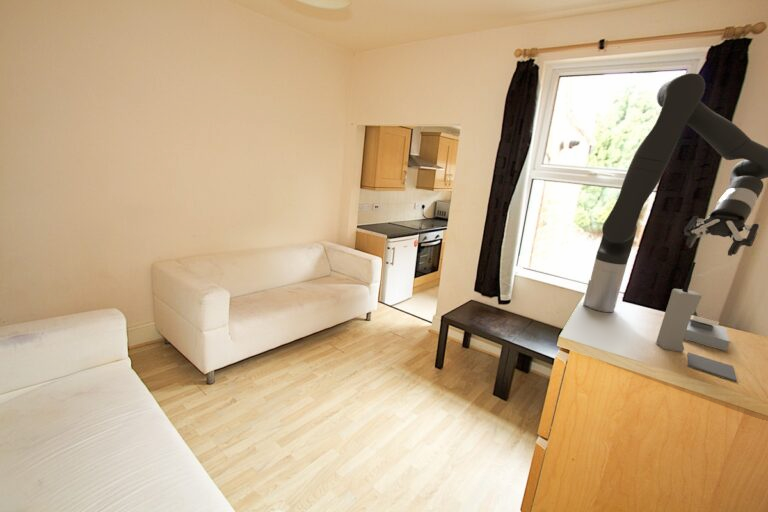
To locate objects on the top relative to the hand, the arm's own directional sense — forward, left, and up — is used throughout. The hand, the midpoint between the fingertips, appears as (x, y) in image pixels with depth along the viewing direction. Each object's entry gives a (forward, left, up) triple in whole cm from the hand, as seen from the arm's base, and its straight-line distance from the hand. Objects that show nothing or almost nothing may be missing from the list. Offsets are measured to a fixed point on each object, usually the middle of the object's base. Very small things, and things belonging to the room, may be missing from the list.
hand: (708, 249), depth 95 cm
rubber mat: (+7, -12, -28) cm, 31 cm away
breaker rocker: (+5, +11, -23) cm, 26 cm away
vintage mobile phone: (-2, -7, -28) cm, 29 cm away
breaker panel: (+5, +10, -28) cm, 30 cm away
